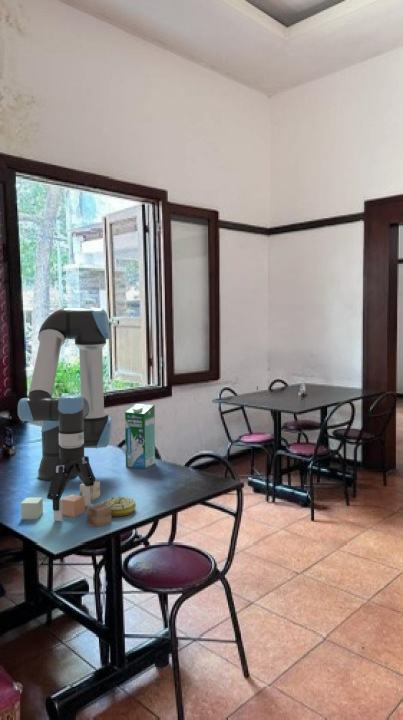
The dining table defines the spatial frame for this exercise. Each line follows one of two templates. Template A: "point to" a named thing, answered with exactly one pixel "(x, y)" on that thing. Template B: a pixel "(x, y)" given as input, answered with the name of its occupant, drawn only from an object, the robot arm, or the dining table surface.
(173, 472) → the dining table surface
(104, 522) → the walnut cube
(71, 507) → the terracotta cube
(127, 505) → the decorated donut
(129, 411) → the milk carton
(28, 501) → the sage cube
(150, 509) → the dining table surface
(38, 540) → the dining table surface
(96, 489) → the beech cube
